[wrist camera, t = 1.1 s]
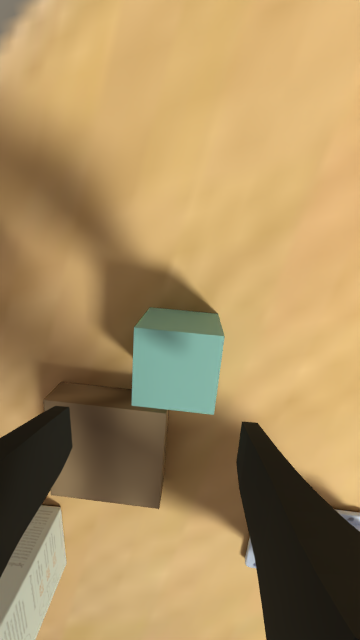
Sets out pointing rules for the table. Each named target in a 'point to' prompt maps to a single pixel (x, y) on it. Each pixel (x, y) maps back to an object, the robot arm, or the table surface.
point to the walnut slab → (111, 446)
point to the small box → (32, 576)
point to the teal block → (177, 360)
